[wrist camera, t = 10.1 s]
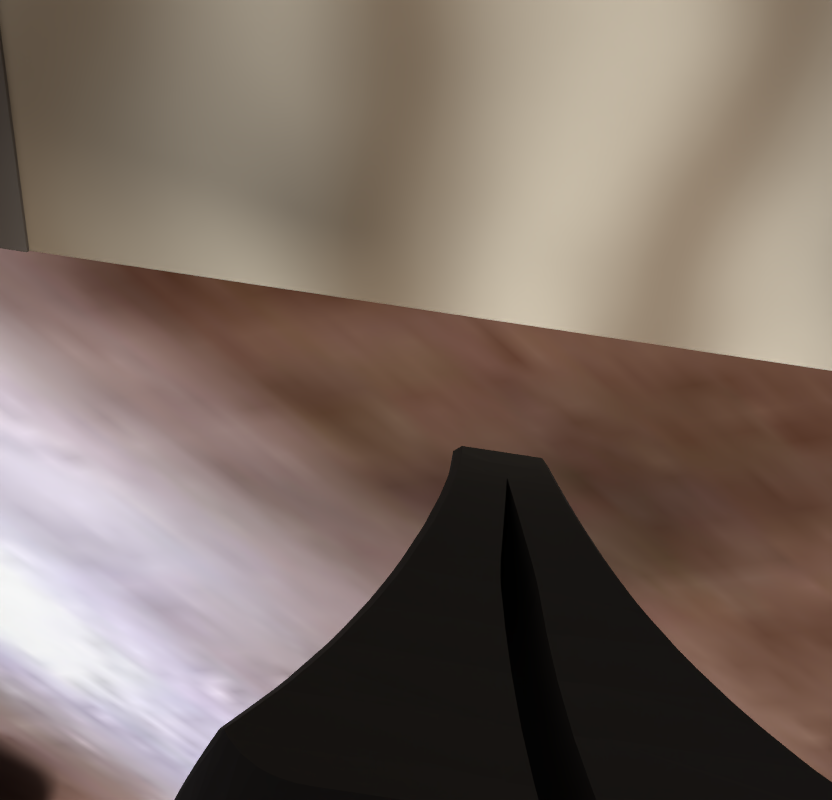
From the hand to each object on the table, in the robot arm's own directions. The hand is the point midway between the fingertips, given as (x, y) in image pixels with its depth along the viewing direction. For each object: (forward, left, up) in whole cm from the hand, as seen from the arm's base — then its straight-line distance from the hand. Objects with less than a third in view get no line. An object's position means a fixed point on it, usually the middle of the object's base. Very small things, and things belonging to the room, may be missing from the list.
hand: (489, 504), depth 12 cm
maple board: (+2, -5, -9) cm, 11 cm away
